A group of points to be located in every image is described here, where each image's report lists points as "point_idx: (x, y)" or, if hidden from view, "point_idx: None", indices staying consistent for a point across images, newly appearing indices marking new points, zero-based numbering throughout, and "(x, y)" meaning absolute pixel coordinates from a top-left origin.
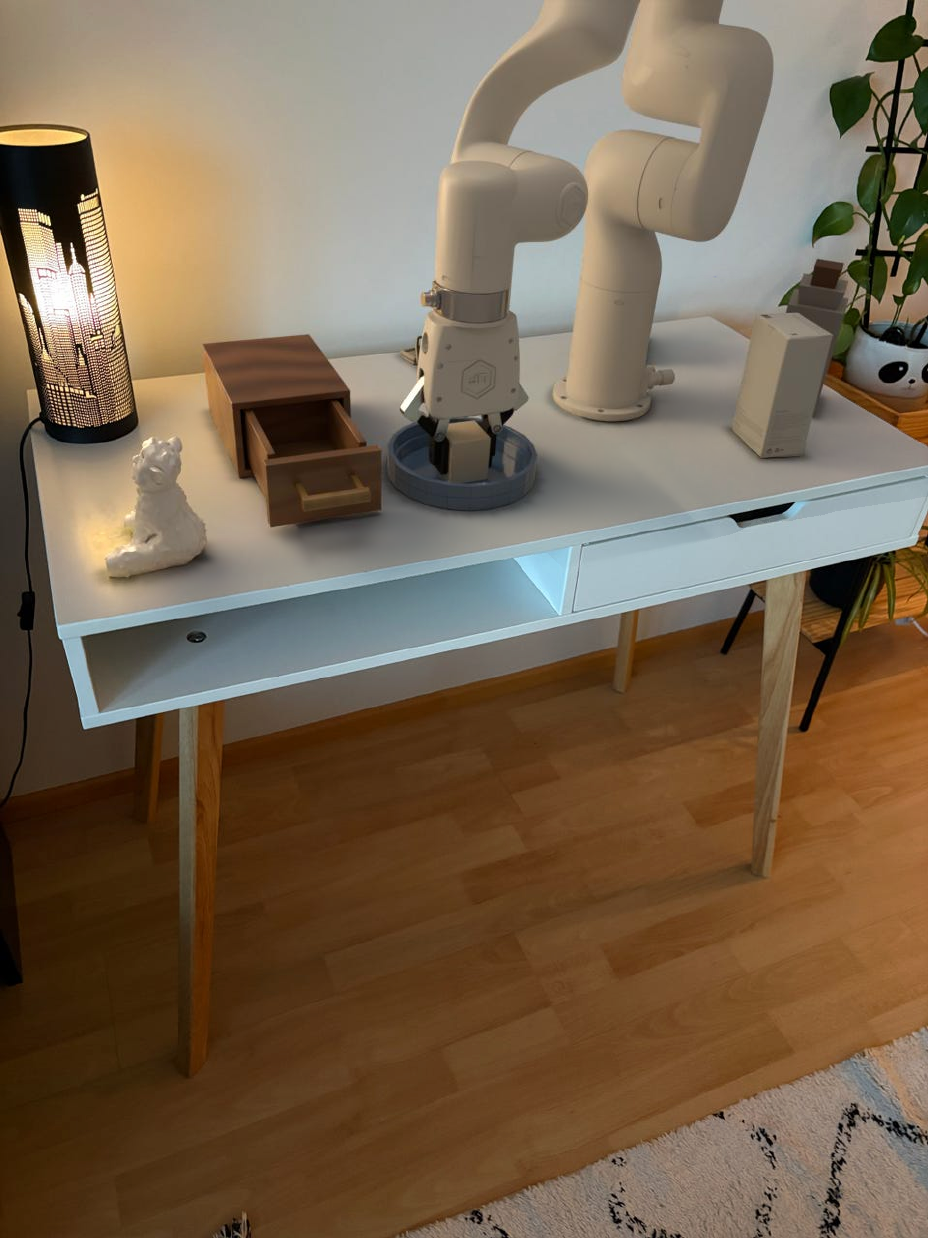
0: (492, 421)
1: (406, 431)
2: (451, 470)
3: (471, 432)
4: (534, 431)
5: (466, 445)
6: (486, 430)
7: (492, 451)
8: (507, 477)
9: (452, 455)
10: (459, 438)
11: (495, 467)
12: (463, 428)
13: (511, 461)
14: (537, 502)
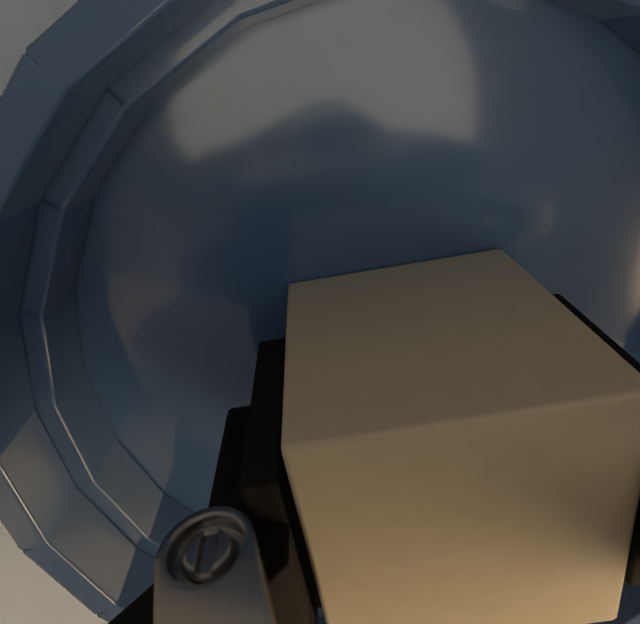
0: (250, 621)
1: (621, 606)
2: (533, 281)
3: (417, 531)
4: (17, 616)
5: (500, 388)
6: (291, 547)
7: (254, 397)
8: (177, 291)
9: (587, 330)
10: (556, 458)
11: (223, 383)
12: (454, 580)
13: (136, 425)
14: (23, 2)
